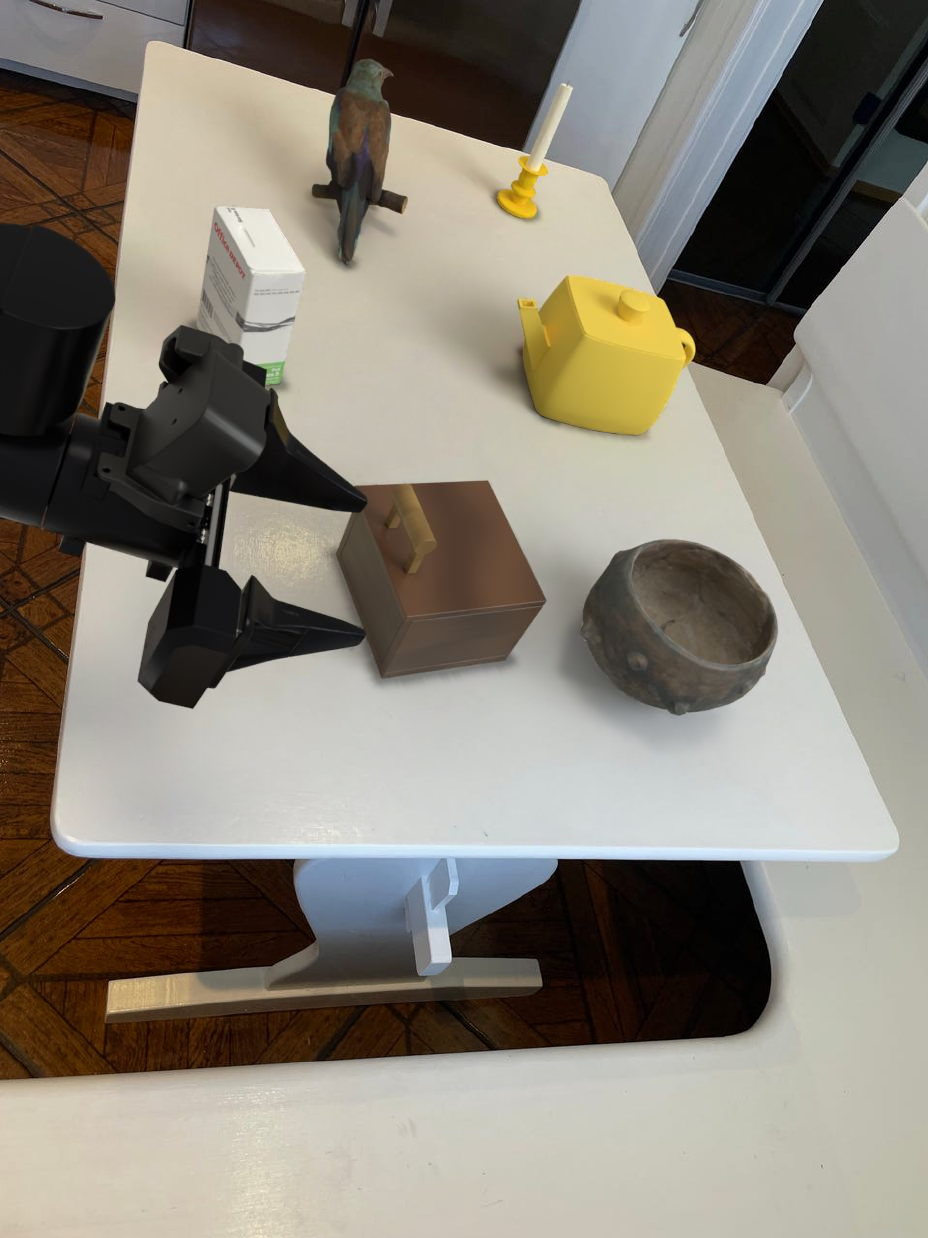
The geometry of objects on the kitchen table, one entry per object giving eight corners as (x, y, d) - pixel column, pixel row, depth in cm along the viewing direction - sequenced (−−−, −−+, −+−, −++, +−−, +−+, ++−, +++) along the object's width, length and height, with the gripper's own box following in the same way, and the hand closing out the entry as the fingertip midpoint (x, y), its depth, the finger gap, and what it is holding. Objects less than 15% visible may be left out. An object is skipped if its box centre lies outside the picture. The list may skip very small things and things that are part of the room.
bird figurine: (399, 278, 96) (447, 64, 89) (304, 252, 93) (346, 29, 86) (383, 271, 108) (424, 82, 101) (298, 248, 105) (335, 52, 98)
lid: (403, 622, 61) (424, 582, 58) (351, 490, 67) (368, 447, 63) (544, 605, 67) (570, 568, 64) (485, 485, 72) (506, 444, 69)
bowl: (748, 724, 77) (824, 659, 70) (602, 761, 70) (670, 693, 62) (669, 590, 84) (731, 518, 76) (527, 611, 76) (580, 533, 69)
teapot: (494, 414, 90) (543, 315, 81) (477, 332, 97) (521, 232, 88) (670, 448, 97) (733, 360, 88) (643, 369, 104) (699, 280, 95)
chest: (381, 679, 67) (411, 622, 62) (335, 553, 73) (359, 490, 67) (505, 660, 72) (543, 606, 67) (453, 544, 78) (485, 485, 72)
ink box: (281, 385, 82) (311, 271, 73) (228, 390, 79) (251, 272, 70) (245, 320, 85) (269, 204, 76) (192, 322, 82) (211, 202, 73)
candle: (491, 189, 116) (541, 62, 104) (527, 196, 118) (581, 72, 106) (504, 215, 113) (557, 87, 101) (540, 221, 115) (597, 97, 104)
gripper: (53, 513, 32) (445, 631, 39) (138, 216, 43) (431, 349, 50) (-2, 671, 40) (334, 747, 46) (82, 384, 51) (344, 480, 57)
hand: (363, 568), depth 50 cm, fingers open, 9 cm apart
